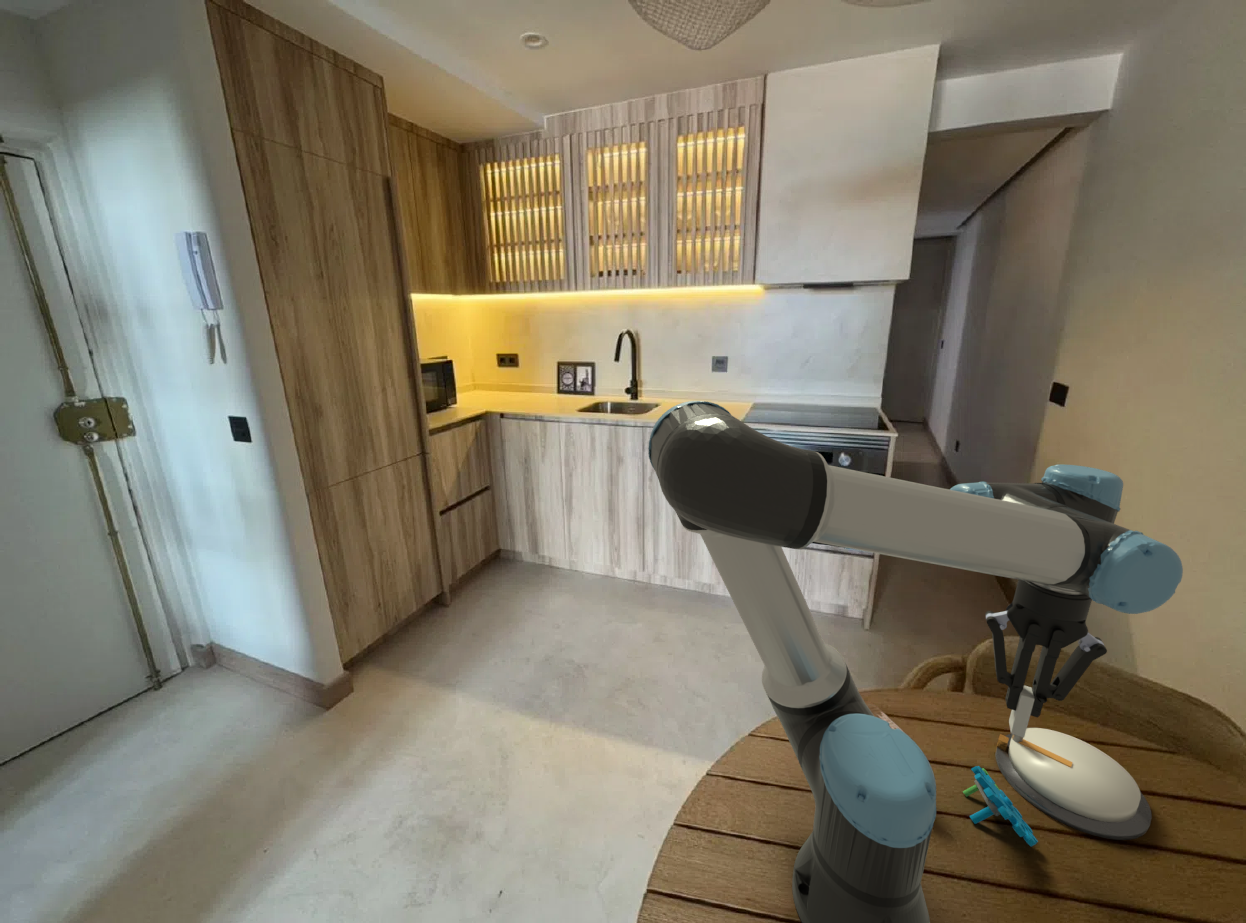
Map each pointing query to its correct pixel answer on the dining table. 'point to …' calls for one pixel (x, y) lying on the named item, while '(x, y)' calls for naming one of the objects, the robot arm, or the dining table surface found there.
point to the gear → (997, 805)
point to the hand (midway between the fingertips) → (1016, 729)
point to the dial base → (1094, 827)
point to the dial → (1074, 775)
